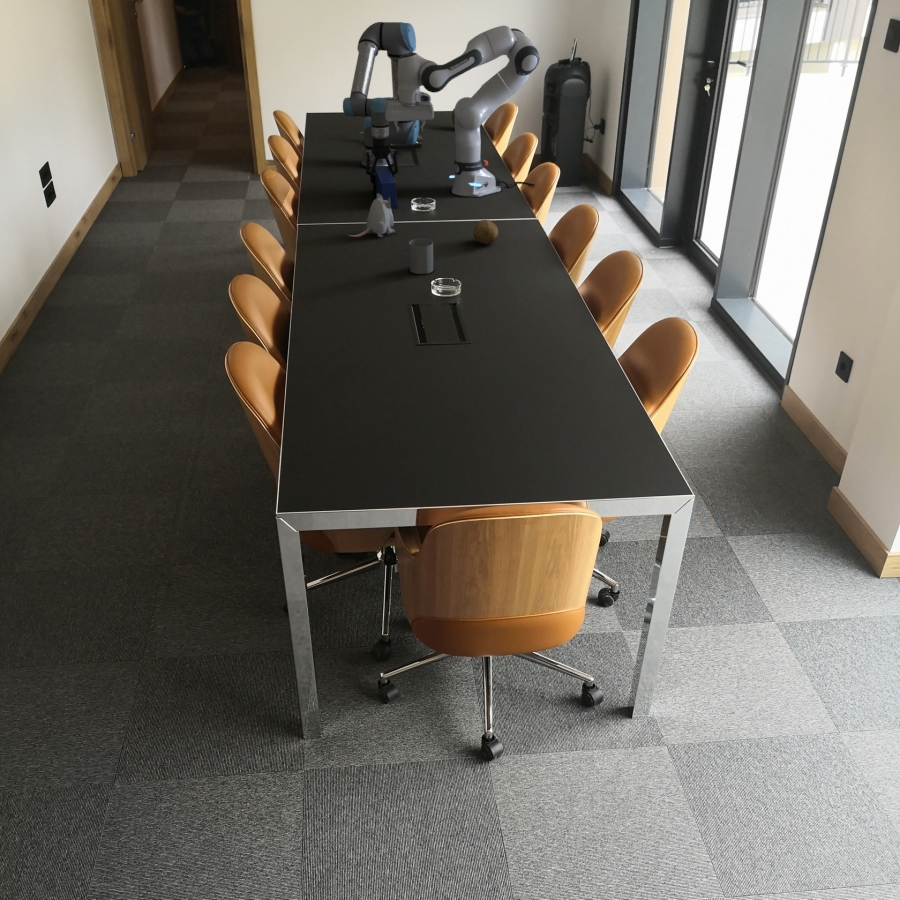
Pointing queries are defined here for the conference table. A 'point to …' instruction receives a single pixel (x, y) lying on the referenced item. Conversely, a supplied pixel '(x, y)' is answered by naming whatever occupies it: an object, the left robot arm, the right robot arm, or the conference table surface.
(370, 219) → the toy
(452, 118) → the apple
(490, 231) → the potato
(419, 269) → the cup
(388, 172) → the box
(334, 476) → the conference table surface
